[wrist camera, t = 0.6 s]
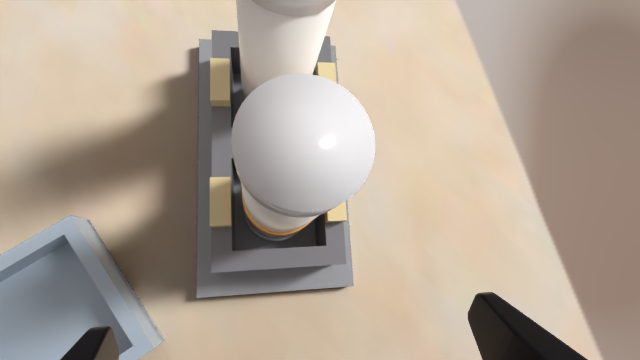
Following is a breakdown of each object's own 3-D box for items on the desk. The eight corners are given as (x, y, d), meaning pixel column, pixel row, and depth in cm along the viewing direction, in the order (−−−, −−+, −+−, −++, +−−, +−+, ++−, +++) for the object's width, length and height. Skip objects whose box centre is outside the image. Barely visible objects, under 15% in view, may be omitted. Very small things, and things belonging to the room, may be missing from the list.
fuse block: (350, 285, 23) (373, 290, 18) (198, 296, 21) (183, 305, 17) (332, 52, 26) (349, 9, 22) (200, 46, 24) (189, -2, 20)
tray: (164, 339, 20) (154, 348, 18) (15, 445, 18) (-16, 469, 16) (88, 219, 21) (70, 215, 19) (-63, 308, 19) (-104, 313, 17)
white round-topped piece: (318, 218, 22) (402, 160, 10) (266, 254, 21) (286, 241, 9) (283, 167, 23) (322, 51, 10) (231, 201, 22) (201, 116, 9)
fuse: (312, 118, 24) (379, -41, 11) (263, 148, 23) (276, 9, 10) (279, 72, 24) (309, -133, 12) (229, 99, 23) (202, -94, 11)
